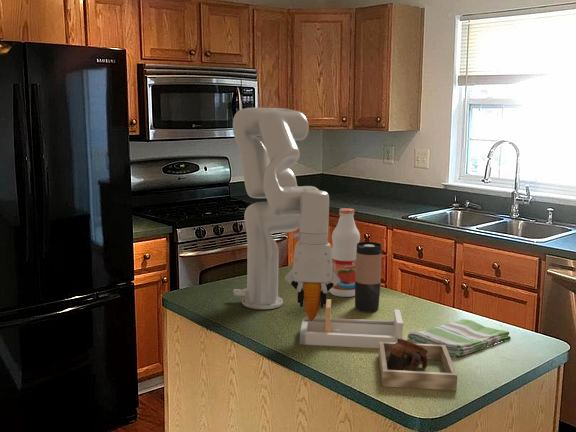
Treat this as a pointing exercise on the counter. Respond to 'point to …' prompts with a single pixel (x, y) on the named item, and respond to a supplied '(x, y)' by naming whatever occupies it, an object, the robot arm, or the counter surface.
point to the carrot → (311, 298)
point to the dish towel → (460, 337)
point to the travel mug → (368, 276)
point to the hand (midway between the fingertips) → (311, 305)
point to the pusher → (329, 319)
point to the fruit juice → (345, 253)
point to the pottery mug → (413, 356)
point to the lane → (352, 332)
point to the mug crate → (417, 377)
